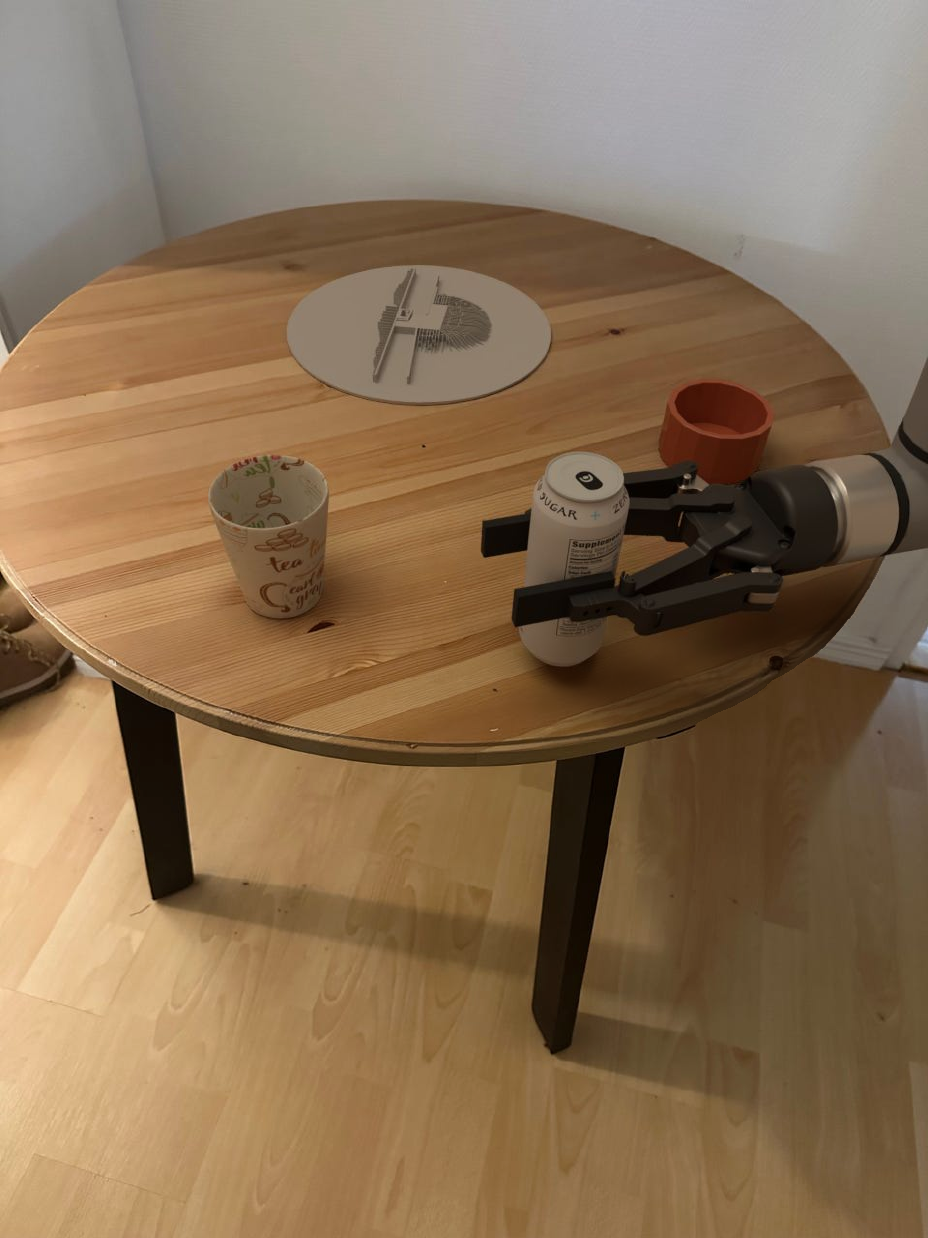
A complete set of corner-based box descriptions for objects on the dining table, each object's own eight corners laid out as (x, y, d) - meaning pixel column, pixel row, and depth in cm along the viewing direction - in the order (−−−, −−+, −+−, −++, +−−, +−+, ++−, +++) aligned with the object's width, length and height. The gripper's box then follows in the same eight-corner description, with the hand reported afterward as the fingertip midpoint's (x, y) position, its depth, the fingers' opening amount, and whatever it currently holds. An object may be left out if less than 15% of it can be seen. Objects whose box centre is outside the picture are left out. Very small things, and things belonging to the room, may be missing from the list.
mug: (233, 638, 70) (211, 536, 63) (222, 528, 79) (201, 427, 71) (345, 621, 72) (336, 520, 65) (322, 515, 80) (312, 415, 73)
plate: (325, 256, 112) (324, 246, 111) (561, 281, 110) (563, 271, 109) (251, 386, 93) (250, 376, 92) (536, 420, 91) (537, 409, 90)
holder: (778, 454, 88) (793, 408, 84) (723, 498, 83) (737, 452, 80) (695, 412, 92) (706, 367, 89) (638, 452, 88) (648, 406, 84)
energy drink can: (570, 601, 72) (595, 435, 61) (618, 653, 68) (654, 487, 58) (502, 629, 70) (516, 462, 59) (548, 684, 66) (572, 518, 55)
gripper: (868, 649, 64) (541, 720, 59) (734, 478, 76) (456, 524, 71) (909, 566, 58) (554, 637, 53) (758, 397, 71) (459, 441, 66)
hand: (499, 572), depth 62 cm, fingers closed on energy drink can, 6 cm apart
